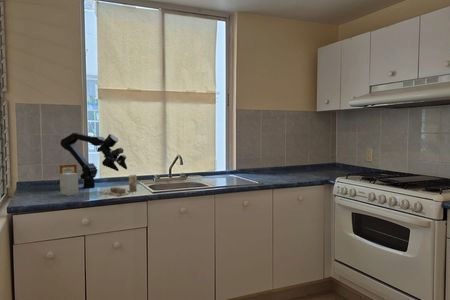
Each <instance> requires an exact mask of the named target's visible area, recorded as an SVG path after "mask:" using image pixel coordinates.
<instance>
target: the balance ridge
mask: <svg viewBox="0 0 450 300" xmlns="http://www.w3.org/2000/svg"><path fill="white" fill-rule="evenodd" d="M109 188H110V191H107V192H106V195H110V196H116V197H122V196H126V195H130V191H129V192H128V191H126V188H123V187H117V186H114V187H113V186H112V187H109Z"/></svg>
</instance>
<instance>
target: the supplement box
mask: <svg viewBox="0 0 450 300" xmlns="http://www.w3.org/2000/svg"><path fill="white" fill-rule="evenodd" d="M60 188H61V189H60ZM59 189H60V195H63V196H67V197H69V196H74V195H79V194H80V193H79V173H78V172H77V173H63V174H60V173H59Z"/></svg>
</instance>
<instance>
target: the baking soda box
mask: <svg viewBox="0 0 450 300" xmlns="http://www.w3.org/2000/svg"><path fill="white" fill-rule="evenodd" d="M58 165H59V175H60V174H63V173H78V172H77V170H78V169H77V163H66V164H58ZM59 189H60V190H61V188H60V187H59Z"/></svg>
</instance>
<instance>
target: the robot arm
mask: <svg viewBox="0 0 450 300" xmlns="http://www.w3.org/2000/svg"><path fill="white" fill-rule="evenodd" d="M78 141H82V142H87V143H89V144H91V145H92V146H95V147H97V150H96V151H97V153H99V152H101V153H102V154H103V157H104V159H103V160H102V161H101V162H102V163H101V164H102V165H103V167H106V168H109V169H112V170H114V171H117V172H119V168H118V166H117V165H116V163H117V164H118V165H119V166H120V167H121V168H123V169H125V170H128V166H127V164H126V159H127V156H126V155H124V154H123V153H124V149H123V148H122V147H119V148H116V149H112V148H113V147H114V146H115V145H116V144H117V143H118V142H119V139H118V137H116V136H115V135H113V134H112V133H109V134H108V135H107V137H106V138H104V137H103V136H91V135H88V134H87V135H86V134H83V133H79V132H73V133H71V134H70V135H67V136H66V137H64V138H63V139H62V138H61V140H60V146H61V147H62V148H63V149H64V150H66V151H68V152H69V153H70V154H71V156H72V157H73V158H74V159H75V160H76V162H77V163H78V164H79V165H80V167H81V171H82V173H81V174H80V179H81V180H82V188H83V189H92V188H95V186H96V185H95V184H96V183H95V178H96V177H97V173H98V169H97V166H96V165H95V164H94V163H92V162H91V163H89V162H88V161H87V159H86V158H85V157H84V156H83V154H82V153H81V152H80V150H79V149H78V148H77V144H76V143H77V142H78ZM120 154H121V155H120ZM115 162H116V163H115Z"/></svg>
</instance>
